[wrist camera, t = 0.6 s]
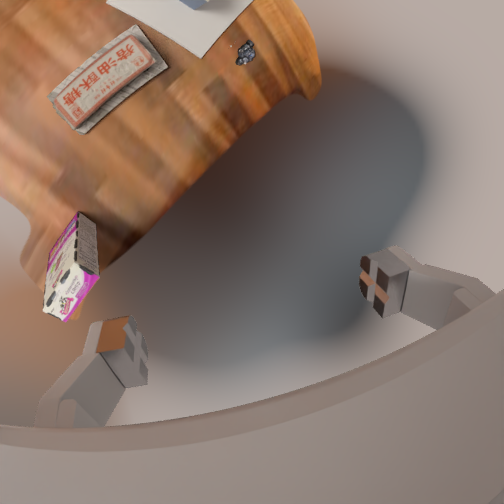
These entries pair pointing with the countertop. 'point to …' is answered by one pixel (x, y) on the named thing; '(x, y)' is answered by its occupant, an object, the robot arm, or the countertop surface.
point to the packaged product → (106, 79)
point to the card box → (194, 3)
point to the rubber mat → (185, 19)
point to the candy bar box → (71, 268)
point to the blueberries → (245, 53)
